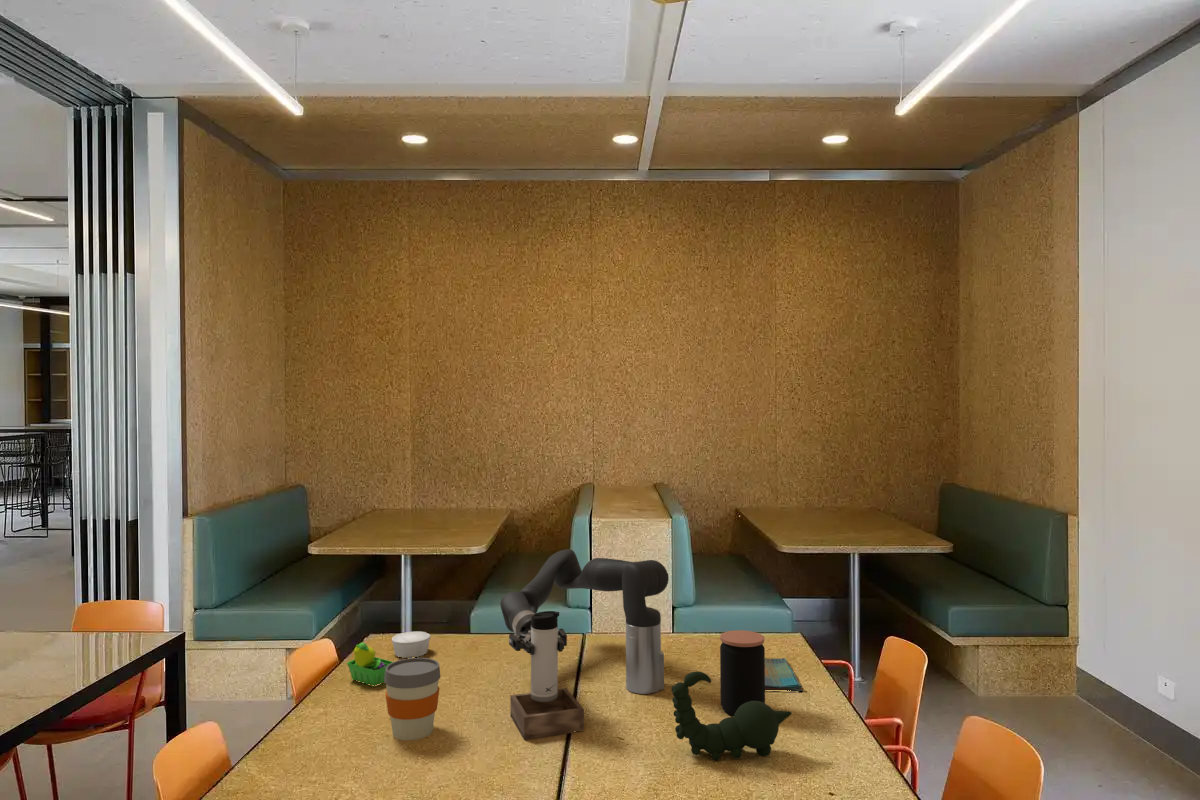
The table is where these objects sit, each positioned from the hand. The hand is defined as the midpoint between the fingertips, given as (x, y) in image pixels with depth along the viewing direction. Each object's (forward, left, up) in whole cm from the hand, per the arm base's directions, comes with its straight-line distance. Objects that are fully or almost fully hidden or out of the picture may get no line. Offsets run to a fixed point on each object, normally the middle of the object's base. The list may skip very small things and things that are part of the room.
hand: (546, 649), depth 179 cm
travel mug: (0, -2, -12) cm, 12 cm away
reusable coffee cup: (+30, -8, -18) cm, 36 cm away
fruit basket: (+38, -45, -18) cm, 62 cm away
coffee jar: (-47, +7, -18) cm, 51 cm away
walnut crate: (0, -2, -18) cm, 18 cm away
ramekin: (+25, -65, -18) cm, 72 cm away
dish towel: (-64, -12, -19) cm, 68 cm away
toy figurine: (-33, +27, -18) cm, 47 cm away
